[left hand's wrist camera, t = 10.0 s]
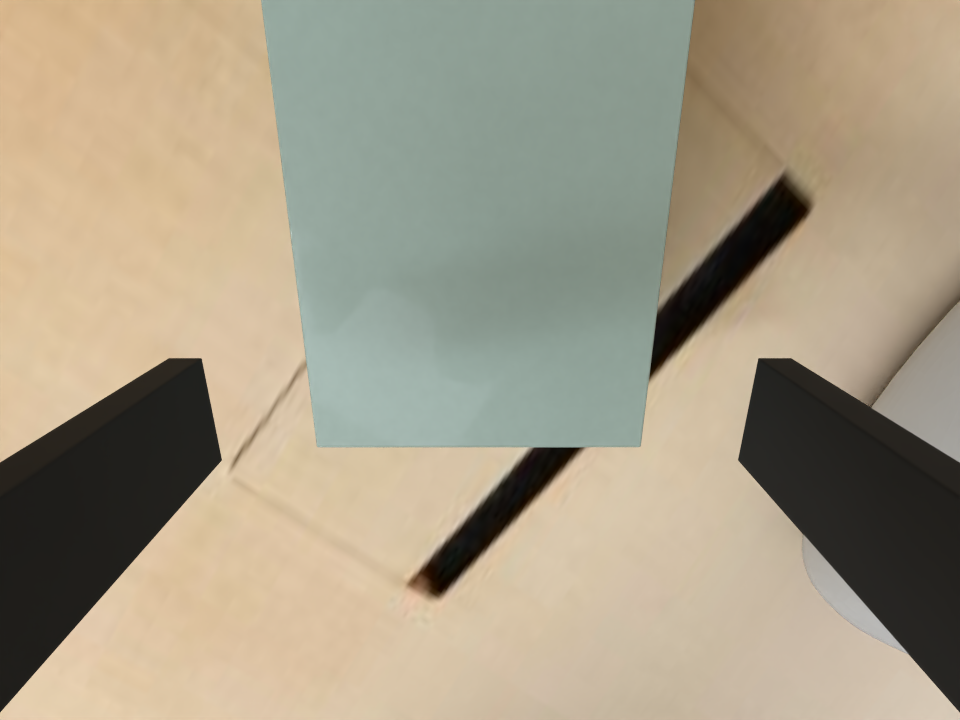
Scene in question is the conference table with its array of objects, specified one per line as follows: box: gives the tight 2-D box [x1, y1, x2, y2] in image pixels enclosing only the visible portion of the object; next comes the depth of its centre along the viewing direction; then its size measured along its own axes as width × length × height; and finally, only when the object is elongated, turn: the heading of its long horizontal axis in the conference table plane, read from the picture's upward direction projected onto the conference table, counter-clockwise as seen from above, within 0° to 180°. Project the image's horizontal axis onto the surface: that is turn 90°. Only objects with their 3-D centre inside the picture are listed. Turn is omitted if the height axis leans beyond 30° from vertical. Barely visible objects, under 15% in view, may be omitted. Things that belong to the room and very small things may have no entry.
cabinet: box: [261, 0, 695, 447], centre depth 20 cm, size 20×12×10 cm, turn 0°
